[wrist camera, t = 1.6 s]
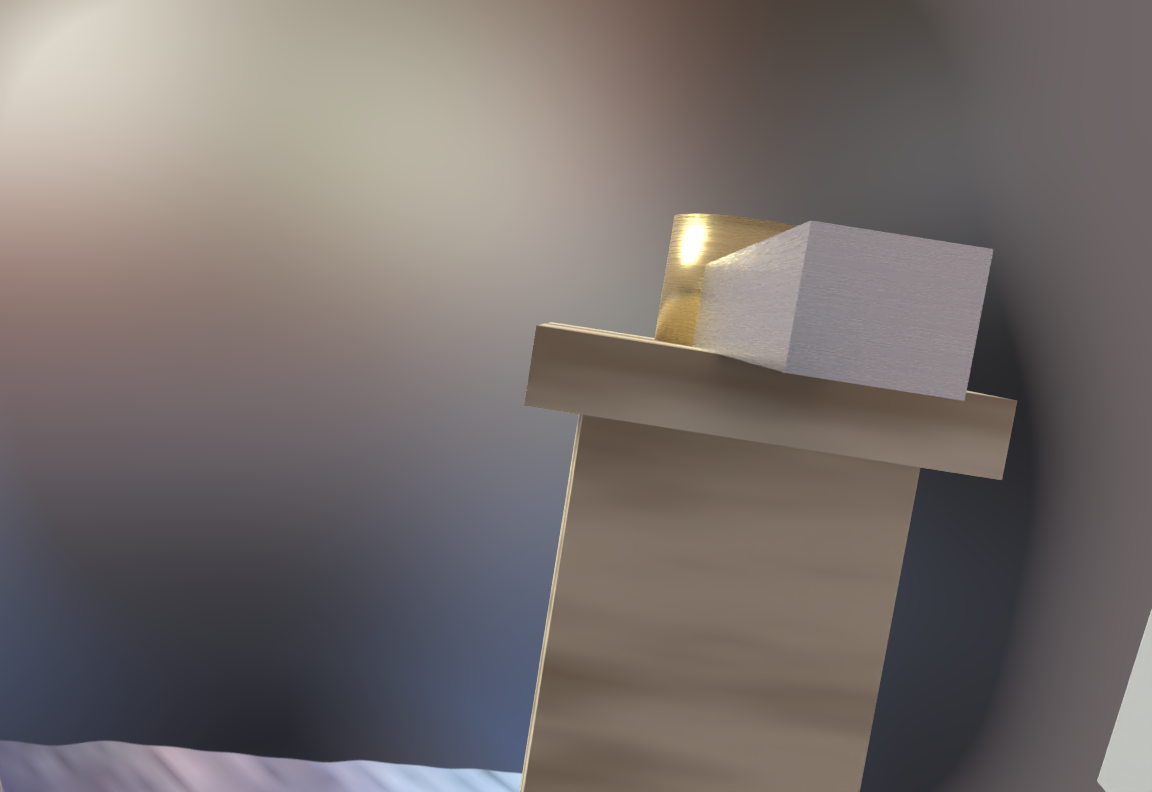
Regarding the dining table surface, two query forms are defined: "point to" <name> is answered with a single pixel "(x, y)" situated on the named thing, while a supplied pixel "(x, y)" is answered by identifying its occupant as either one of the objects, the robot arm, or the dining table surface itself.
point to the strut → (826, 301)
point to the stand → (726, 564)
